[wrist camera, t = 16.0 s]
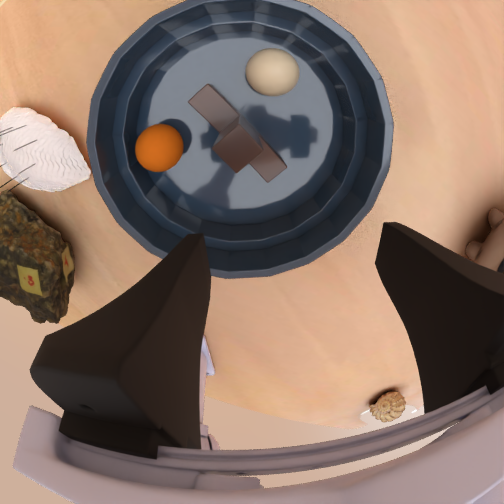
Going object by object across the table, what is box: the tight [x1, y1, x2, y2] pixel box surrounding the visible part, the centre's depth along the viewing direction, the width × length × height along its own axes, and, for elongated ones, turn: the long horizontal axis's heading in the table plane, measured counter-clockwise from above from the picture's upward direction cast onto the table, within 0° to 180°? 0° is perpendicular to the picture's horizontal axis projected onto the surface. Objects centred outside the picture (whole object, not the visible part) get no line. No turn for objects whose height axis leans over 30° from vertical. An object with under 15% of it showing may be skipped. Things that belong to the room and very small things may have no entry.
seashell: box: [369, 391, 406, 422], centre depth 39 cm, size 8×6×10 cm
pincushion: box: [0, 107, 91, 192], centre depth 13 cm, size 12×6×6 cm, turn 57°
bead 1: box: [135, 124, 184, 172], centre depth 15 cm, size 3×3×3 cm
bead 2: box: [246, 48, 299, 96], centre depth 13 cm, size 3×3×3 cm
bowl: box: [86, 0, 394, 279], centre depth 14 cm, size 16×16×5 cm
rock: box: [0, 190, 75, 324], centre depth 17 cm, size 12×9×8 cm
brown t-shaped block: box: [188, 84, 287, 183], centre depth 13 cm, size 7×2×6 cm, turn 41°
